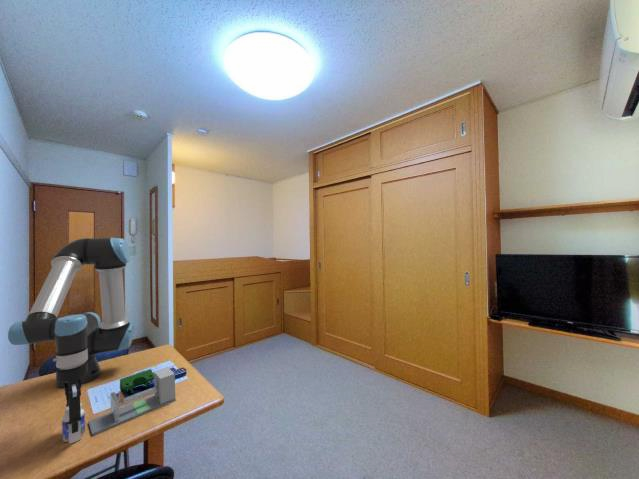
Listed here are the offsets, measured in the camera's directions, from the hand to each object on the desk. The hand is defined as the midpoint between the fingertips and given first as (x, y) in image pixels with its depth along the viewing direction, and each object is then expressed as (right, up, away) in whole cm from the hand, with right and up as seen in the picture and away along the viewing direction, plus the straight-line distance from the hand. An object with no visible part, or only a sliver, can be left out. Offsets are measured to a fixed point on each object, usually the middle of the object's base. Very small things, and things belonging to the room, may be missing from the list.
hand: (73, 435), depth 86 cm
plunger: (+12, +1, +13) cm, 17 cm away
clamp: (+2, 0, +27) cm, 27 cm away
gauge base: (+11, 0, +12) cm, 17 cm away
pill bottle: (0, -1, 0) cm, 1 cm away
